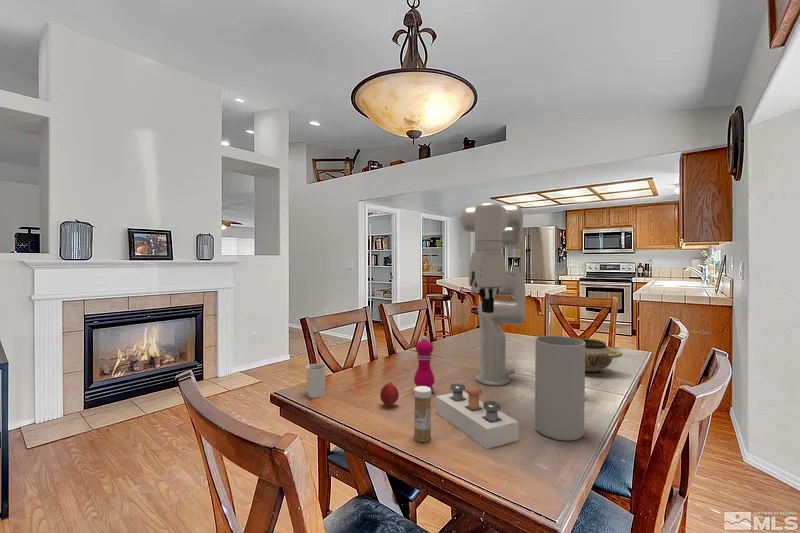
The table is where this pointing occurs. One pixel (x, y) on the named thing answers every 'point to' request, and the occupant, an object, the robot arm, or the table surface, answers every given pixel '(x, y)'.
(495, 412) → the grey plug
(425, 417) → the sprinkles bottle
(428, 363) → the pepper mill
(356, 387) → the table surface
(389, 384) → the onion
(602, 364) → the ceramic bowl
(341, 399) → the table surface
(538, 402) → the cylinder vase
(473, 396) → the rust plug
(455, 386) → the grey plug
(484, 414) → the block
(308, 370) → the drinking glass
